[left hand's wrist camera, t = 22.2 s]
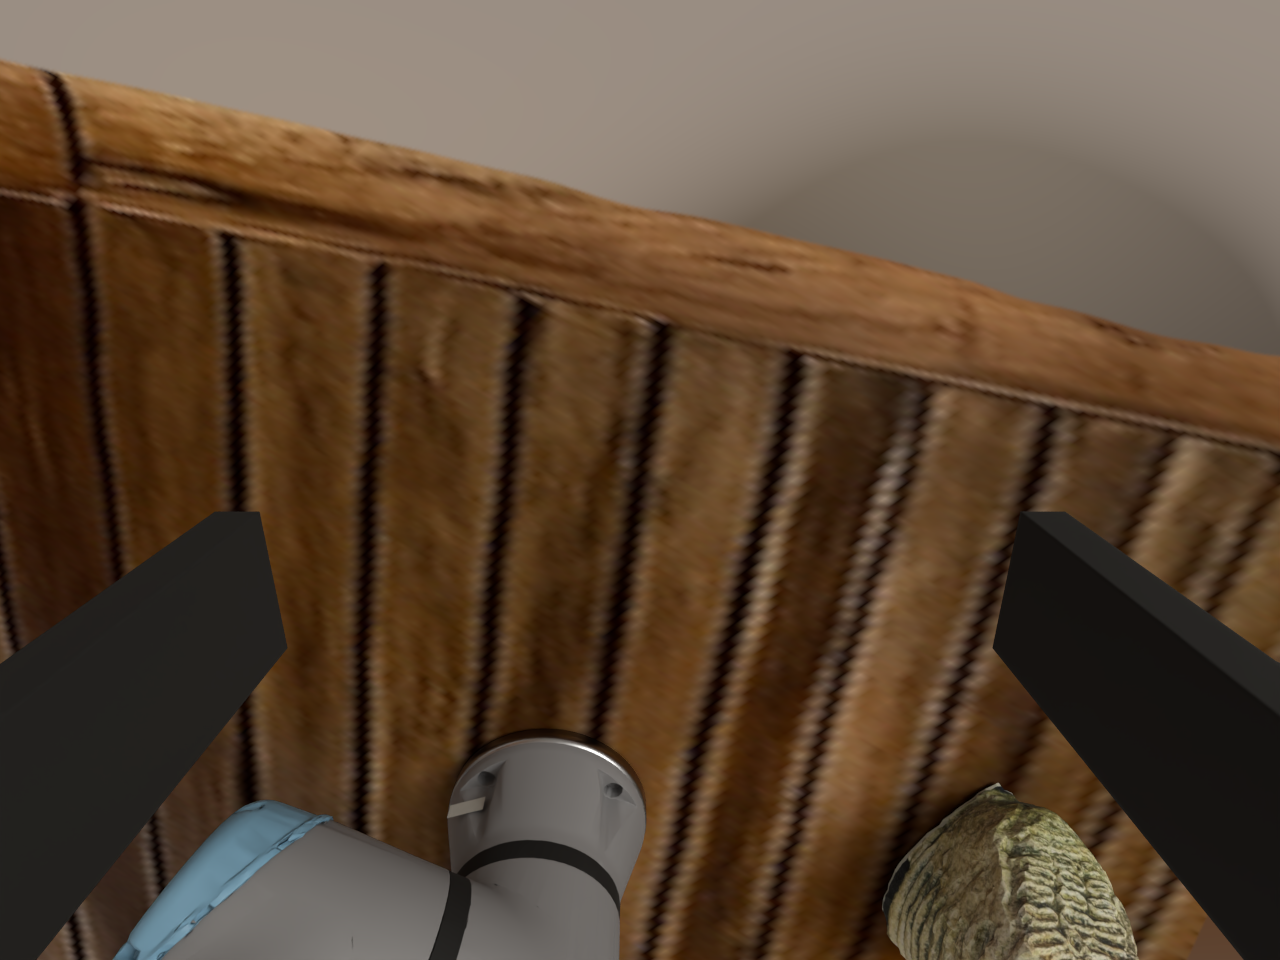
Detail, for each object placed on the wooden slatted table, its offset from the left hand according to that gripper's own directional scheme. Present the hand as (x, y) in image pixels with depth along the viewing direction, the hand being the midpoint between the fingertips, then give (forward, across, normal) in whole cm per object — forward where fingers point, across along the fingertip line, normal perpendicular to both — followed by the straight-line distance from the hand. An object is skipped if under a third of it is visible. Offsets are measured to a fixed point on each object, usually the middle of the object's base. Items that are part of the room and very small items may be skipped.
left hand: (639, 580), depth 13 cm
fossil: (+33, -26, +43) cm, 60 cm away
